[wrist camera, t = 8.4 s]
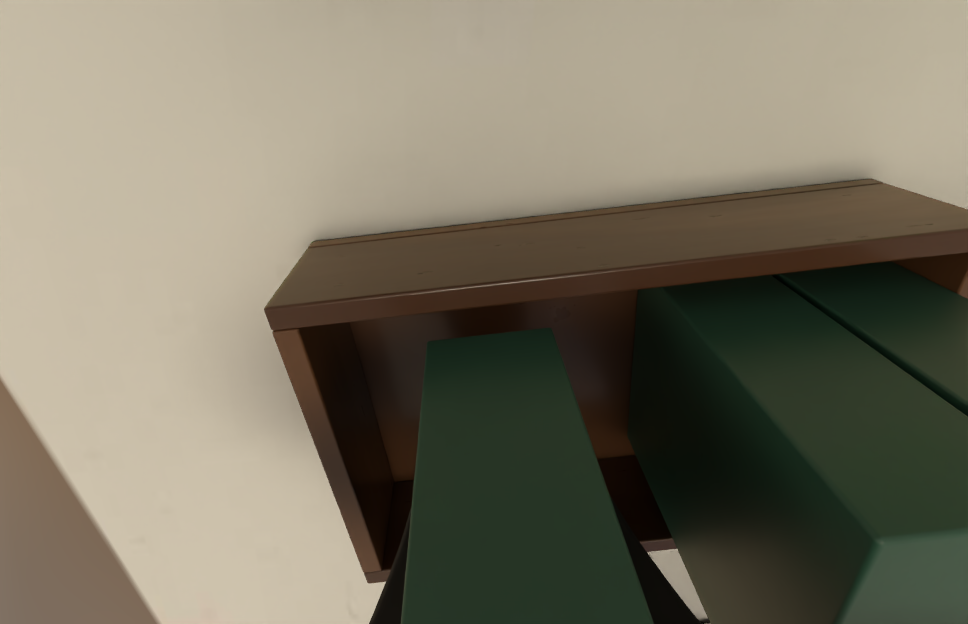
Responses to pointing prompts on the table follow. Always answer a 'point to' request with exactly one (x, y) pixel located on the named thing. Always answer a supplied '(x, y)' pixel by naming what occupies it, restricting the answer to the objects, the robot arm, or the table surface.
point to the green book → (511, 495)
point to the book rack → (552, 317)
